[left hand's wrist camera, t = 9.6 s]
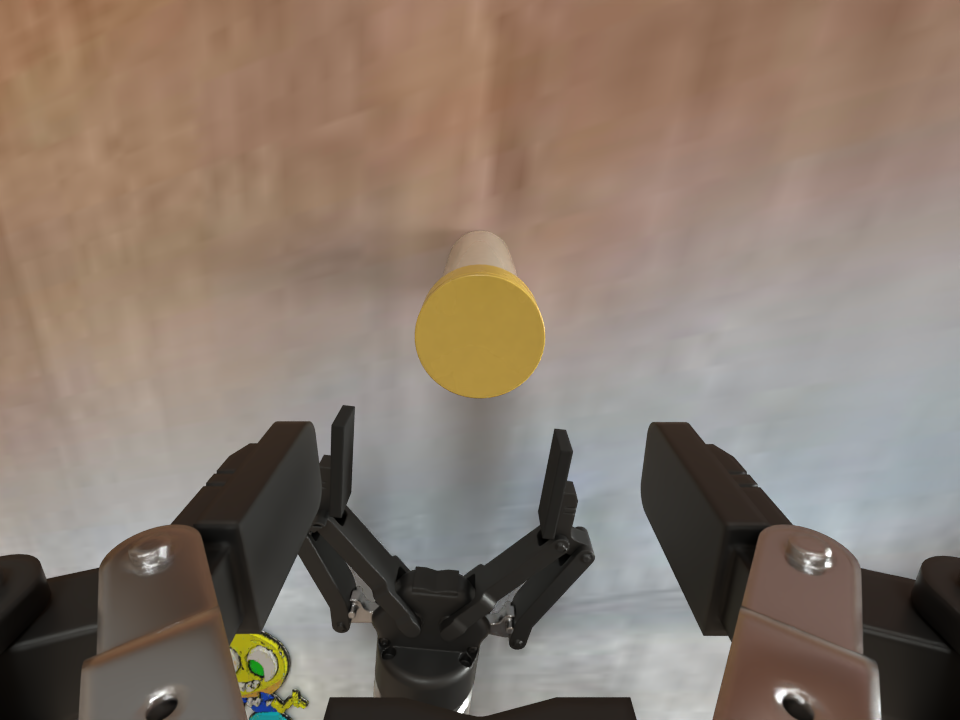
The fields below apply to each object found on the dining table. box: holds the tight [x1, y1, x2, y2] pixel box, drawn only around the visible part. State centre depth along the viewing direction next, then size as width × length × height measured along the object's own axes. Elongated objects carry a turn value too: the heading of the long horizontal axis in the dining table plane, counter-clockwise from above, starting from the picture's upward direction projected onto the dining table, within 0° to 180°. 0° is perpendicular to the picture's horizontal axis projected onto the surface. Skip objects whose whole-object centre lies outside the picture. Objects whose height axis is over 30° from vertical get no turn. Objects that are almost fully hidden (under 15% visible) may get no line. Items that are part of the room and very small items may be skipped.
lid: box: [415, 264, 545, 398], centre depth 20 cm, size 5×5×2 cm
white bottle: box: [442, 231, 518, 277], centre depth 27 cm, size 4×4×16 cm
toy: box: [229, 631, 309, 720], centre depth 48 cm, size 10×1×15 cm
